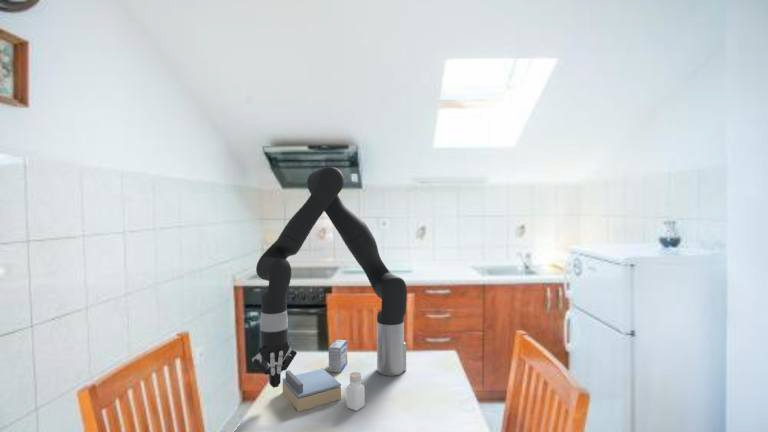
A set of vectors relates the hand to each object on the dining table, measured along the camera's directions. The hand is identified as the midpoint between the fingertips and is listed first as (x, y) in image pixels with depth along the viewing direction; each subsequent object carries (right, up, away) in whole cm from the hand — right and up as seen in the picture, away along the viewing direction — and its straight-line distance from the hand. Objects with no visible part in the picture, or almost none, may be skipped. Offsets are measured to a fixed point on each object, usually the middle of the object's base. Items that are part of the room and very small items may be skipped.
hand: (274, 386), depth 118 cm
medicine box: (+15, -5, +27) cm, 31 cm away
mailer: (+9, -6, +6) cm, 13 cm away
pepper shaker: (+23, -6, 0) cm, 24 cm away
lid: (+9, -2, +6) cm, 11 cm away
